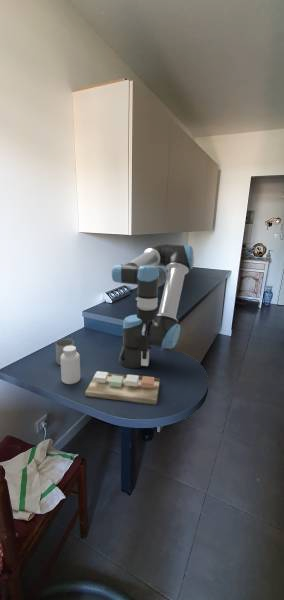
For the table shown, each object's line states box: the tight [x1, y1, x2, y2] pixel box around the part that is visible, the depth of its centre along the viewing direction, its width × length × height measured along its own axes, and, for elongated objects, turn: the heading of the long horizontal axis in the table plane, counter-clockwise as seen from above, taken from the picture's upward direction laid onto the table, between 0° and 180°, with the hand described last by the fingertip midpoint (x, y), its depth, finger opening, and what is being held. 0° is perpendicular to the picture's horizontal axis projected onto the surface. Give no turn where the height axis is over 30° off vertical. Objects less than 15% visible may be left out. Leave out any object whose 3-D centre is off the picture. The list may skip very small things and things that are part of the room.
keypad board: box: [84, 372, 161, 405], centre depth 113 cm, size 14×28×3 cm, turn 82°
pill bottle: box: [60, 345, 81, 385], centre depth 117 cm, size 8×8×15 cm
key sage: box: [109, 375, 123, 387], centre depth 113 cm, size 5×5×2 cm
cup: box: [55, 338, 75, 366], centre depth 133 cm, size 8×8×10 cm
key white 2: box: [125, 374, 140, 386], centre depth 111 cm, size 5×5×2 cm
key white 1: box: [92, 370, 109, 383], centre depth 113 cm, size 5×5×2 cm
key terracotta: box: [141, 375, 156, 388], centre depth 110 cm, size 5×5×2 cm
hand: (144, 364), depth 108 cm, fingers closed
